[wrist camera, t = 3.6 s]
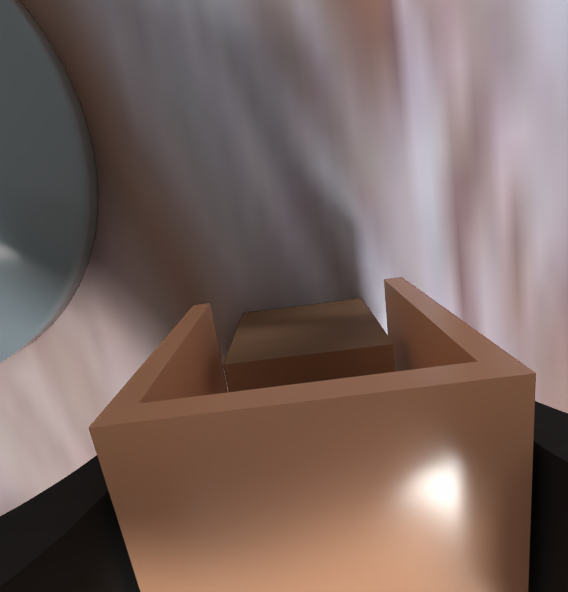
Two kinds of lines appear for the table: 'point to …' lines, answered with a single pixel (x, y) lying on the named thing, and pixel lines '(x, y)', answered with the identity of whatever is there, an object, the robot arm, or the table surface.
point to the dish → (40, 183)
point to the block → (307, 346)
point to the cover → (327, 466)
